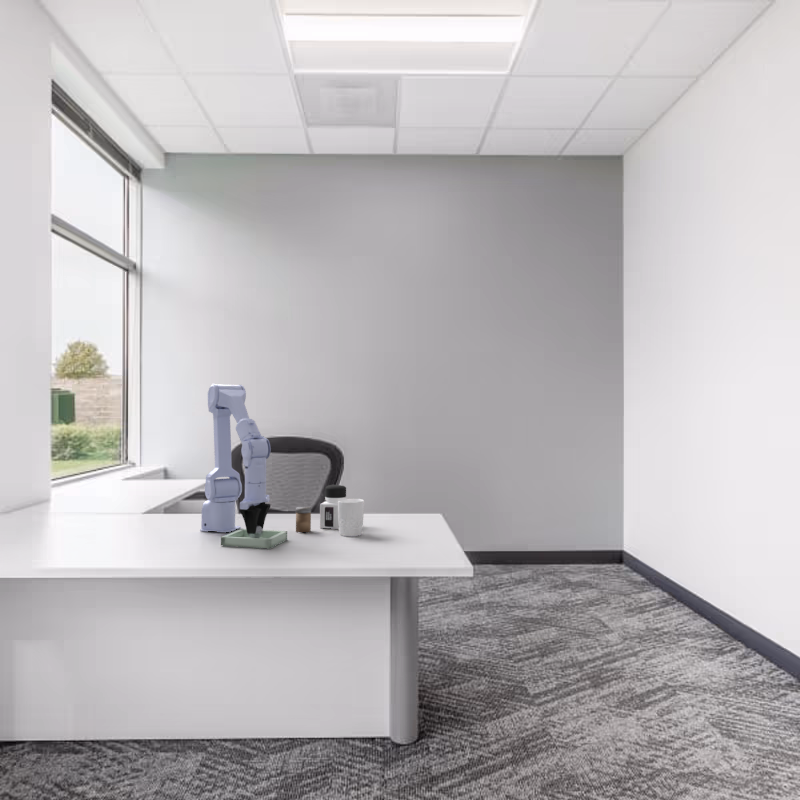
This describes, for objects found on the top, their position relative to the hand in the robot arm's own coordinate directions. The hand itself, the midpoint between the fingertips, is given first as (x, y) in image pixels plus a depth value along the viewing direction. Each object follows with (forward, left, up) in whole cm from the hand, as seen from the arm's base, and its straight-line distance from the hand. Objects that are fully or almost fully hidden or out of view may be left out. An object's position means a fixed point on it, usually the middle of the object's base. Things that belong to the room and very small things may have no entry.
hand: (254, 531), depth 175 cm
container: (+14, +28, -3) cm, 31 cm away
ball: (0, 0, -2) cm, 2 cm away
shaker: (+7, +18, -3) cm, 20 cm away
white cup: (+22, +18, -3) cm, 29 cm away
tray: (0, 0, -3) cm, 3 cm away
